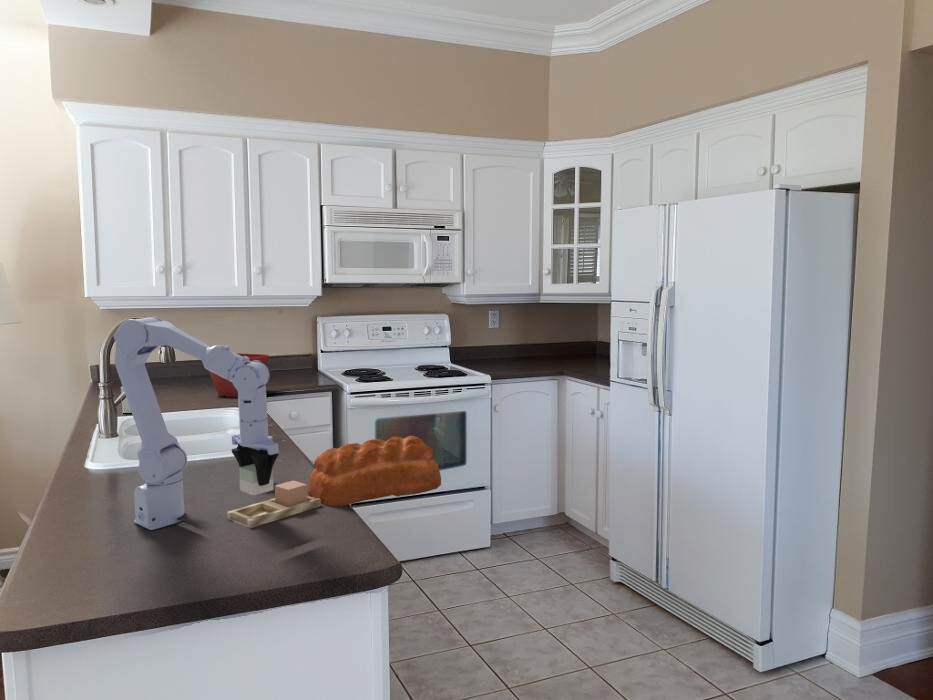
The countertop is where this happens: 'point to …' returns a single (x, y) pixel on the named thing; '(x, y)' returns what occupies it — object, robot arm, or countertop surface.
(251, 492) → the two tone brick
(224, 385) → the plant pot
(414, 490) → the bread
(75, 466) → the countertop surface
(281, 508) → the socket board
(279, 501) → the terracotta brick
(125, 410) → the small box
